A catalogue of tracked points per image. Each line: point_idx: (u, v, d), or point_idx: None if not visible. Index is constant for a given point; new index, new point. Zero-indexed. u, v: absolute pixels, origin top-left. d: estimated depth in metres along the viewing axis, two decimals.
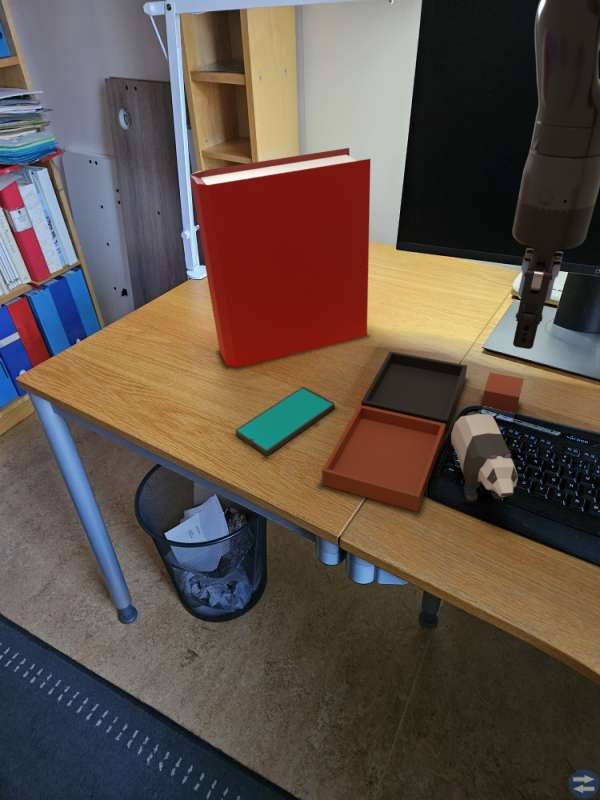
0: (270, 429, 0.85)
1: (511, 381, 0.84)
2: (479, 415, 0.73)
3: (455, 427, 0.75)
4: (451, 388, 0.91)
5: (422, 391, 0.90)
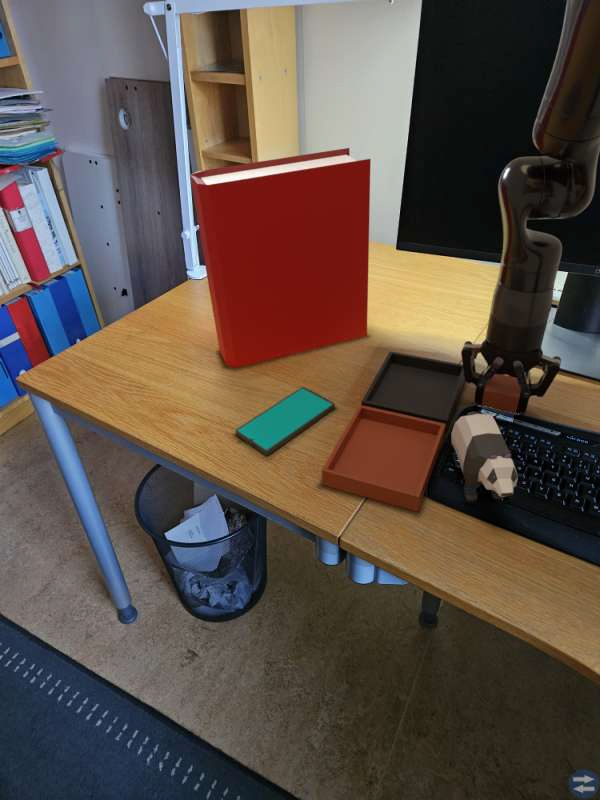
0: (270, 429, 0.85)
1: (511, 381, 0.84)
2: (479, 415, 0.73)
3: (455, 427, 0.75)
4: (451, 388, 0.91)
5: (422, 391, 0.90)
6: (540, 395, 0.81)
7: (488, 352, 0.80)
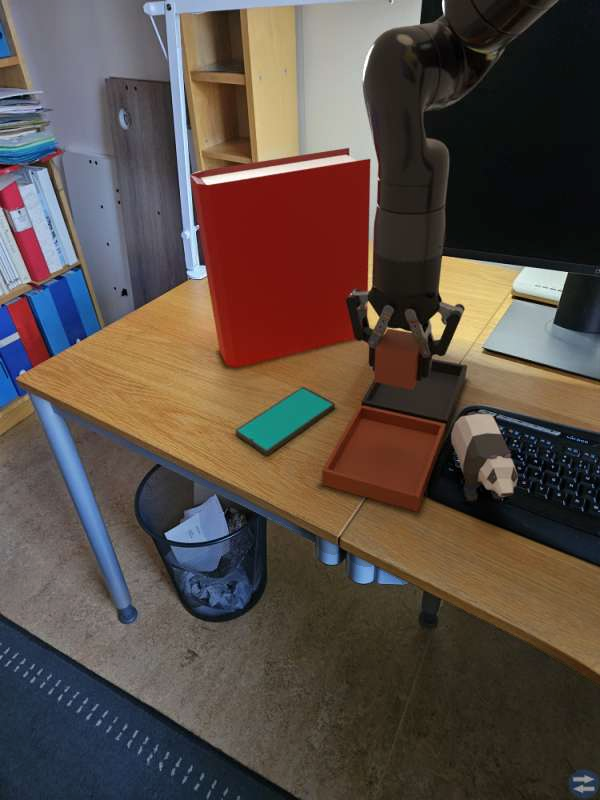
0: (270, 429, 0.85)
1: (410, 338, 0.69)
2: (479, 415, 0.73)
3: (455, 427, 0.75)
4: (451, 388, 0.91)
5: (422, 391, 0.90)
6: (441, 353, 0.65)
7: (376, 300, 0.65)
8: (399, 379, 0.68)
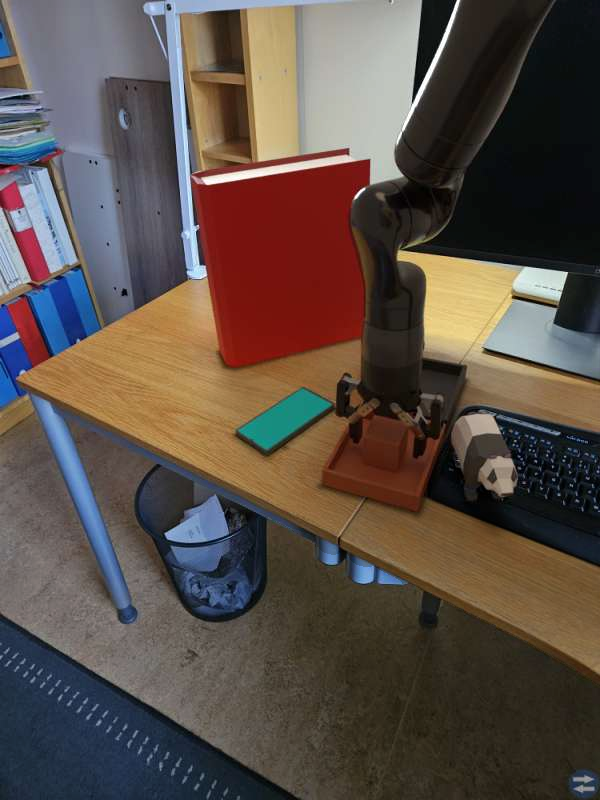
0: (270, 429, 0.85)
1: (394, 426, 0.76)
2: (479, 415, 0.73)
3: (455, 427, 0.75)
4: (451, 388, 0.91)
5: (422, 391, 0.90)
6: (435, 437, 0.71)
7: (364, 392, 0.72)
8: (384, 463, 0.76)
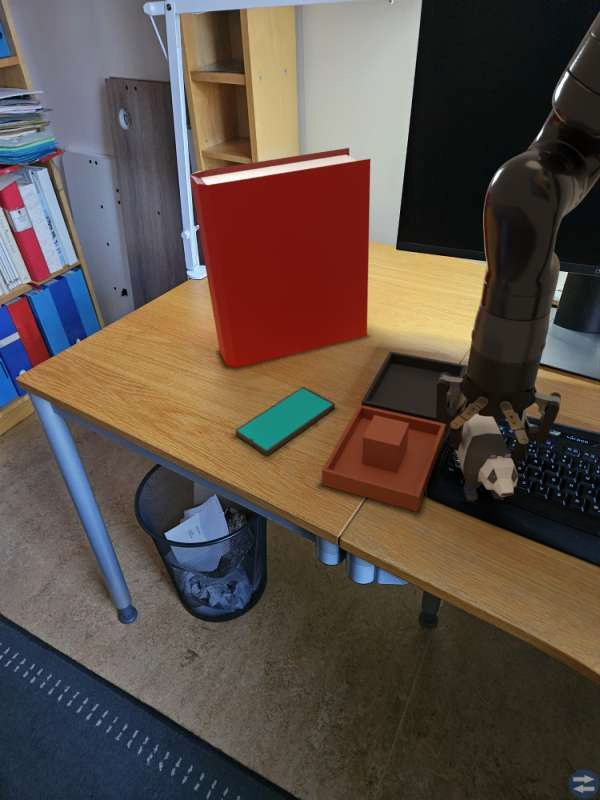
0: (270, 429, 0.85)
1: (394, 426, 0.76)
2: (479, 415, 0.73)
3: None
4: None
5: (422, 391, 0.90)
6: None
7: None
8: (384, 463, 0.76)
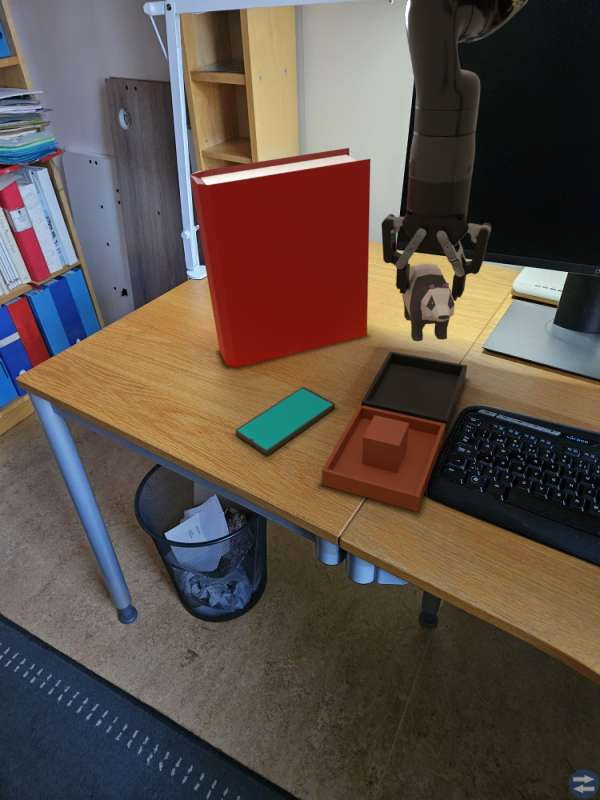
0: (270, 429, 0.85)
1: (394, 426, 0.76)
2: None
3: None
4: (451, 388, 0.91)
5: (422, 391, 0.90)
6: None
7: None
8: (384, 463, 0.76)
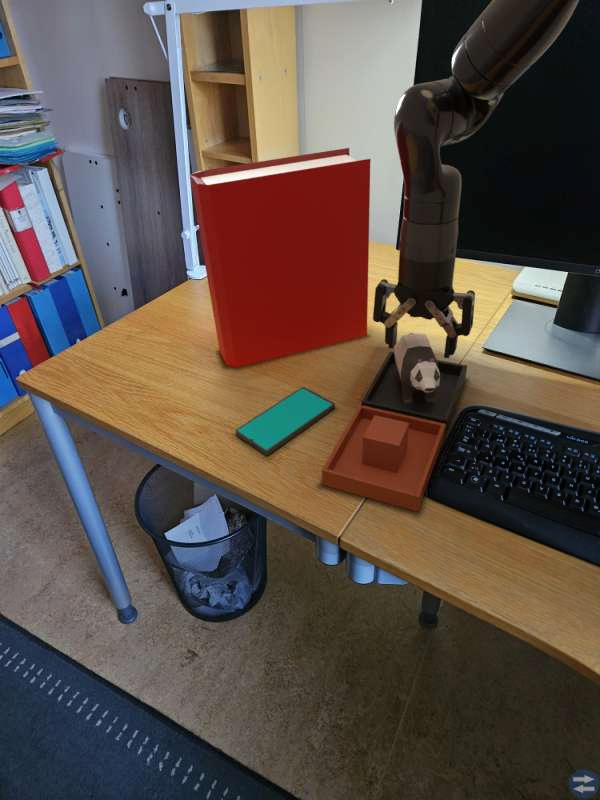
0: (270, 429, 0.85)
1: (394, 426, 0.76)
2: (415, 334, 0.88)
3: (396, 346, 0.91)
4: (451, 388, 0.91)
5: (422, 391, 0.90)
6: None
7: None
8: (384, 463, 0.76)
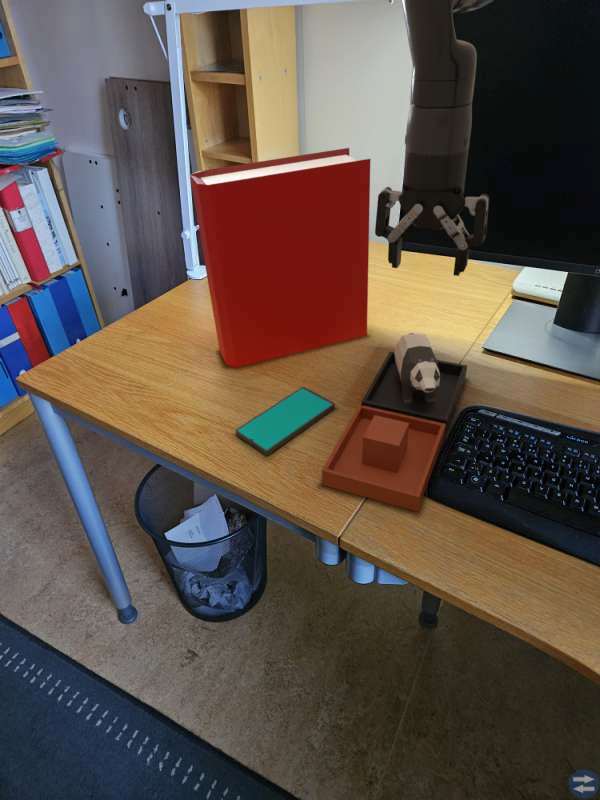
0: (270, 429, 0.85)
1: (394, 426, 0.76)
2: (415, 334, 0.88)
3: (396, 346, 0.91)
4: (451, 388, 0.91)
5: (422, 391, 0.90)
6: None
7: None
8: (384, 463, 0.76)
